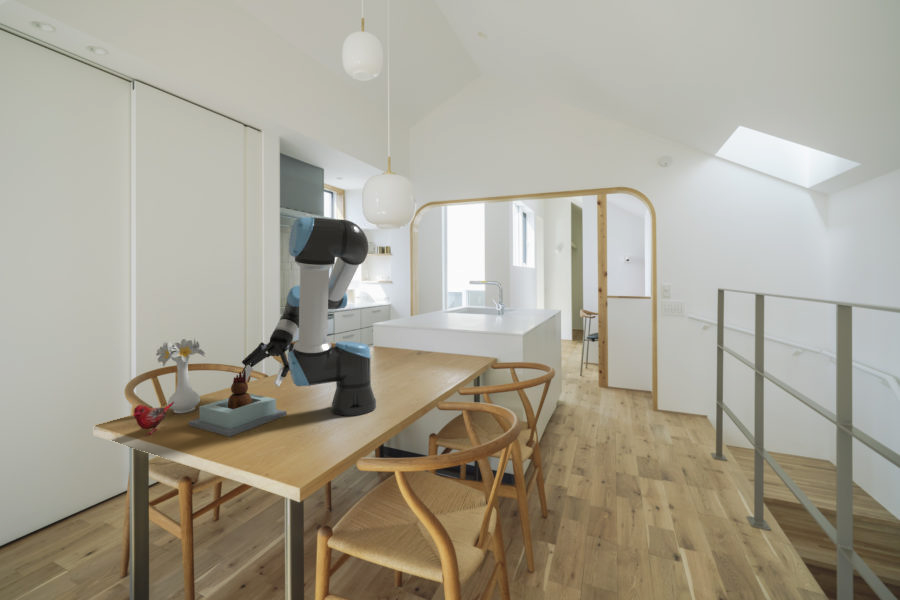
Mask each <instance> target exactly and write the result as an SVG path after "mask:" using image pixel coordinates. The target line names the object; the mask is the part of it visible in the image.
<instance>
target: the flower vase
mask: <svg viewBox="0 0 900 600" xmlns="http://www.w3.org/2000/svg"><path fill="white" fill-rule="evenodd" d="M196 354H199V355H201V356H202V357H206V356H205V355H206V353H205V351H204V350H203V349H202V348H201V349H200V343H199V341H196V338H193V340H191V339H190V340H187V339H186V338H182V339H181V341H180V342H174V344H173V343H172V340H171V339H170V340H169V341H166V340H165V341H163V344H162V346H159V348H157V350H156V354H155V355H156V356H158V358H157V362H158V363H162V366H163V367H164V366H165V365H166V364H167V362H169V360H170V359H171V360H172V361H174V362H175V363H176V367H177V368H176V369H177V384H176V387H175V390H174V392H173V393H172V395H171V396H170V397H169V398H168V400H167V406H168V405H169V404H171V403H172V402H174V403H173V404H172V406H171V407H170V408H169V409H171V410H172V411H173V413H175V414H185V413H190V412H193V411H195V410H196V406H197V405H198V404H199V403H200V401H201V396H200V395H199V394H198V393H197V392H196V391H194V389H193V388H192V386H191V384H190V378H189V361H190V358H191V356H194V355H196Z"/></svg>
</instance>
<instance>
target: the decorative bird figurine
mask: <svg viewBox="0 0 900 600" xmlns="http://www.w3.org/2000/svg"><path fill="white" fill-rule="evenodd" d="M173 403H174V402H172V403H171V404H169V405H168V404H167V405H166V406H165V407H148V406H147V405H144V404H139V405H137V406H136V407H135V409H133V410H134V411H133V417H134V419H135V420H136V423H137V425H138V426H139V428H141V429H144V430H151V431H149V432H148V434H145V437H147V436H150V435H149V434H151V435H152V434H153V433H155V432H156V431H157V430H158V428H157V427H158V426H159V425H160V424H161V422H162V421H163V420H164V418H165V417H166V415H167V412H168V410H169V409H171V408H170V407H171V406H172V404H173ZM154 431H155V432H154Z"/></svg>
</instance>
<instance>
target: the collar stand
mask: <svg viewBox="0 0 900 600" xmlns="http://www.w3.org/2000/svg"><path fill="white" fill-rule="evenodd" d="M249 395H250V396H251V400H252V403H251V404H248V405H245V406H242V407H239V408H236V409H229V408H228V400H229V397H227V398H224V399H220V400H218V401H213V402H210V403H207V404H204V405H200V406H199V407H198V409H199V417H198V418H195V419H192V420H190V421H188V426H189V425H190V426H189V427H193V428H197V429H200V430H204V431H208V432H211V433H215V434H218V435H223V436H225V437H228V438H229V437H231V438H232V437H233V436H237V435H238V434H241V433H244V432H246V431H248V430H249V431H250V430H251V429H253V428H257V427H259V426H261V425H264V424H266V423H269V422H272V421H275V420H277V419H280V418H283V417H285V416H287V411H286V410H281V409H277V399H276V398H273V397H269V396H268V397H267V396H264V395H259V394H254V393H249ZM282 416H283V417H282ZM274 419H275V420H274Z"/></svg>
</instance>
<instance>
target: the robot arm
mask: <svg viewBox="0 0 900 600" xmlns="http://www.w3.org/2000/svg"><path fill="white" fill-rule="evenodd" d="M290 229H291V230H290V233H289V239H288V246H289V247H288V253H289V255H290V257H291V256H292V257H293V258H294V262H295V264H296V265H298V266H299V285H295V286H292V287H291V288H290V290H289V291H288V294H287V295H286V302H285V305H284V311H283V313H282V314H281V317H280V319H279V320H278V322H277V324H276V326H275V328H274V330H273V331H272V334H271V335H270V337H269V342H268V343H264V342H260V343H259V344H258V346H257V347H256V348H255V349H254V350H253V351H251V353H249V354H248V355H247V356H246V357H244V359H243V360H242V361H241V363H242V364H243V366H244V367H243V369H242V370H241V375H242V377H243V373H244V370H246V382H247V381H248V379H249V377H250V375H251V374H252V371H253V370H254V369H253V367H255V366H256V365H257V364H259V363H260V362H261V361H264V360H265V359H266V358H270V357H280V359H281V361H282V363H283V365H282V366H280V368H279V370H278V373H277V375H276V377H275V379H274V381H273V384H274V385H275V386H276V387H280V386H281V384H282V382H283V381H284V378H286V377H287V376H288V372H289V373H290V377H291V379H292V382H293V384H294V386H297V387H311V386H317V385H321V384H322V385H323V384H330V383H336V384H335V385H336V387H335V391H334V394H333V399H332V402H331V412H332V413H333V414H335V415H339V416H347V417H351V416H360V415H364V414H365V415H366V414H368V413H371V412H373V411H374V410H376V408H377V400H376V397H375V395H374V391H373V388H372V385H371V381H372V378H371V377H372V375H371V374H372V373H371V359H372V357H371V348H370V347H369V345H368V344H365V343H362V342H358V341H336V342H335V345H334V347H332V343H331V342H330V340H329V341H328V321H329V319H328V315H329V313H328V312H329V310H339V309H345V308H346V307H347V305H348V299H349V298H348V293H347V290H348V289H349V287H350V284H351V282H352V280H353V278H354V276H355V274H356V272H357V270H358V268H359V266H360V265H361V264H363V263H364V262H365V260H366V259H367V256H368V253H369V240H368V237H367V235H366V233H365V231H363V229H362V228H361V227H360V226H359V225H358V224H357V223H355V222H353V221H350V220H346V219H334V218H323V217H313V216H308V217H307V216H304V217H297V218H296V219H294V221H293V223H292V225H291V228H290ZM332 267H333V268H332ZM331 268H332V271H331V273H330V269H331ZM297 332H298V340H297V341H296V342H295V343H293V340H294V337H295V335H296V334H297ZM286 351H288V352H287V355H286V353H285V352H286Z"/></svg>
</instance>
